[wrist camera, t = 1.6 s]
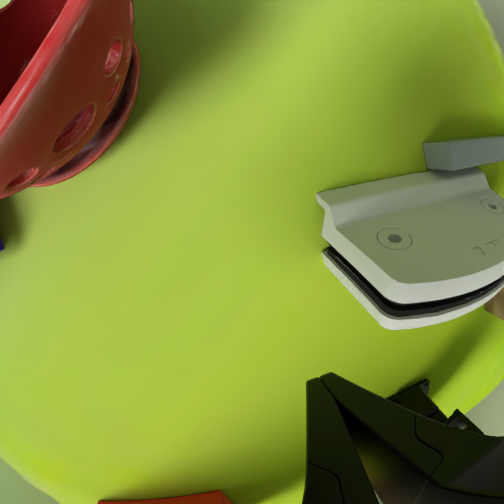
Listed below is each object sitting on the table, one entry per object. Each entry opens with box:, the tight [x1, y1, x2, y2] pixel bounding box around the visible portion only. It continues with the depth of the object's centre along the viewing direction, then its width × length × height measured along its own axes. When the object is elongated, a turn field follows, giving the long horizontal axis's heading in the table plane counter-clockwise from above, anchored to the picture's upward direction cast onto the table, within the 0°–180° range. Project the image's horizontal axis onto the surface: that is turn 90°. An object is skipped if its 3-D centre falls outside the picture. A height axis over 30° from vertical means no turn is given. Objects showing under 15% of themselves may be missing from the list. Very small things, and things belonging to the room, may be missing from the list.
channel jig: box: [423, 135, 504, 171], centre depth 20 cm, size 11×16×4 cm
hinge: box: [316, 167, 504, 330], centre depth 17 cm, size 17×5×10 cm, turn 102°
